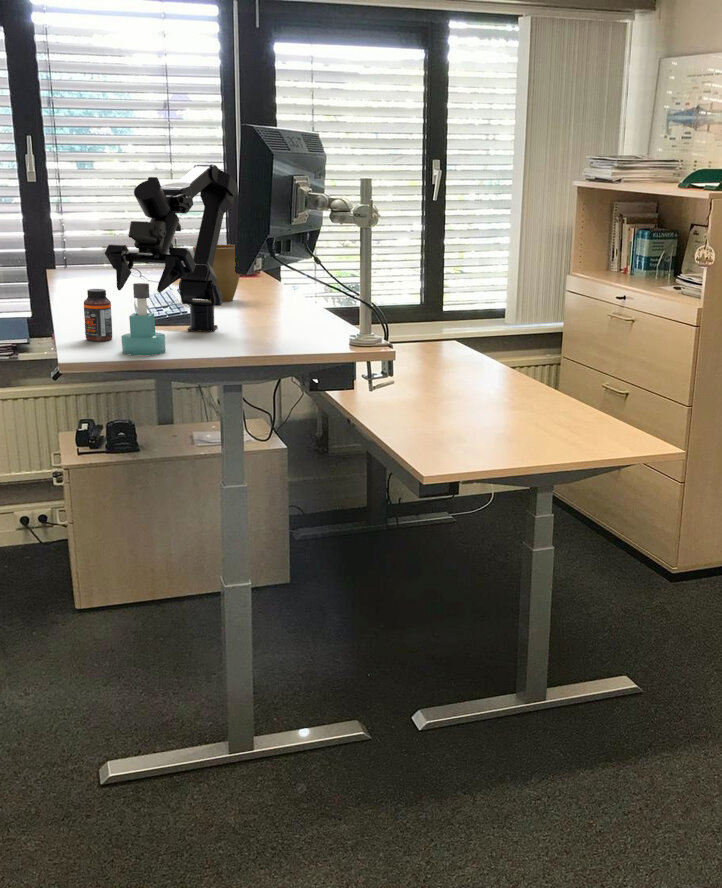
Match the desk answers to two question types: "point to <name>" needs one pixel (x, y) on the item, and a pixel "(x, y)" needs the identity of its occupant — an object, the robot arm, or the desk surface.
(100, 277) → the desk surface
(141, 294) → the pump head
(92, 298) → the supplement bottle
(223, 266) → the plant pot
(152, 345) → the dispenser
